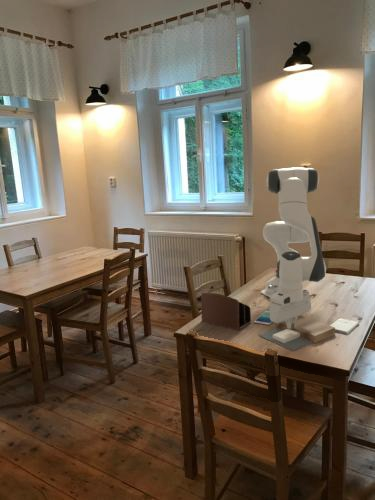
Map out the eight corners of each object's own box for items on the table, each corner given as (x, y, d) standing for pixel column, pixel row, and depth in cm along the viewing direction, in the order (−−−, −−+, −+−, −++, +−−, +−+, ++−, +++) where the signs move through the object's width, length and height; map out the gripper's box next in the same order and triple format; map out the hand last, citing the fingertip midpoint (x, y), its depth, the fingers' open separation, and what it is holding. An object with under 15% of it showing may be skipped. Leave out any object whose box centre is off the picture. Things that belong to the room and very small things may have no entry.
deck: (275, 327, 171) (275, 320, 170) (295, 320, 177) (295, 313, 177) (315, 343, 155) (315, 335, 154) (334, 334, 161) (334, 327, 160)
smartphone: (280, 312, 186) (269, 324, 173) (280, 314, 186) (269, 326, 174) (265, 310, 190) (253, 321, 177) (265, 312, 190) (253, 323, 177)
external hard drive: (327, 331, 166) (339, 321, 175) (347, 335, 161) (358, 325, 170) (327, 327, 166) (339, 317, 175) (347, 331, 160) (359, 321, 169)
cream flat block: (272, 338, 160) (272, 334, 160) (288, 331, 165) (288, 328, 165) (284, 343, 155) (284, 339, 155) (300, 336, 160) (300, 333, 160)
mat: (258, 335, 164) (258, 334, 164) (277, 328, 170) (277, 327, 170) (293, 351, 149) (293, 350, 149) (312, 342, 155) (312, 341, 155)
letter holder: (238, 331, 170) (237, 298, 167) (201, 321, 183) (199, 291, 180) (251, 323, 177) (250, 292, 174) (214, 314, 190) (213, 285, 187)
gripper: (302, 286, 166) (302, 318, 169) (266, 297, 155) (267, 331, 158) (315, 290, 161) (314, 323, 164) (278, 302, 150) (279, 337, 153)
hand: (291, 327), depth 161 cm, fingers closed
